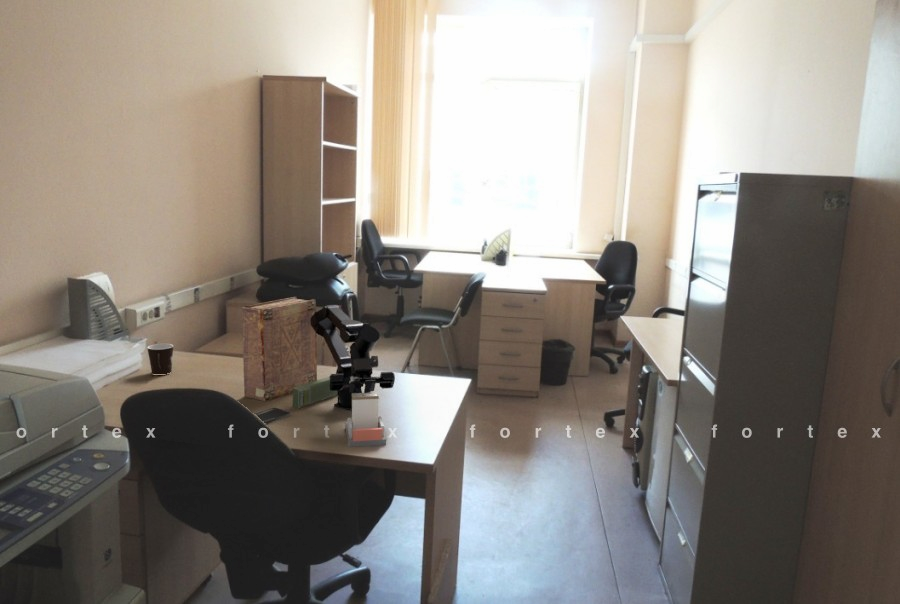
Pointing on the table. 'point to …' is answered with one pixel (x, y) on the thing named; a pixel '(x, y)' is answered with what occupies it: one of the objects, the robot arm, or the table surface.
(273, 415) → the phone
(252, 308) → the book
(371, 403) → the white box
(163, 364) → the coffee mug
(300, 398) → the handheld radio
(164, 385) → the table surface
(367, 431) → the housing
